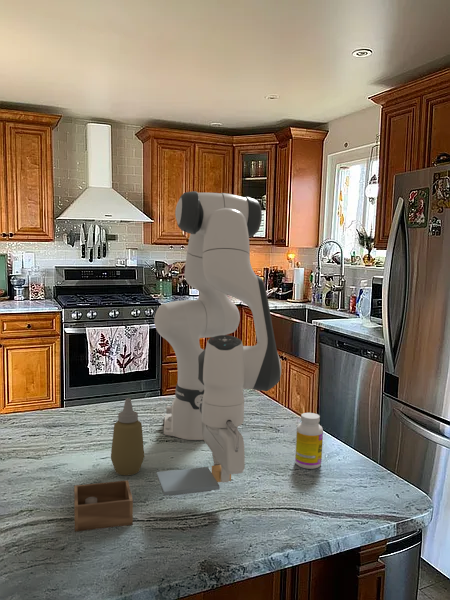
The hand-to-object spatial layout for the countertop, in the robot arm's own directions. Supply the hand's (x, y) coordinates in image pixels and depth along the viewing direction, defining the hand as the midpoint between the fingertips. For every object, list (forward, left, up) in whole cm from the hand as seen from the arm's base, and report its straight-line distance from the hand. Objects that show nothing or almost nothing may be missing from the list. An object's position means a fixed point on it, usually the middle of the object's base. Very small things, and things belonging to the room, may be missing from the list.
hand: (221, 476), depth 112 cm
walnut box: (0, -25, -6) cm, 25 cm away
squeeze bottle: (-20, -18, -6) cm, 28 cm away
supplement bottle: (-14, +27, -6) cm, 31 cm away
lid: (0, -6, -1) cm, 6 cm away
